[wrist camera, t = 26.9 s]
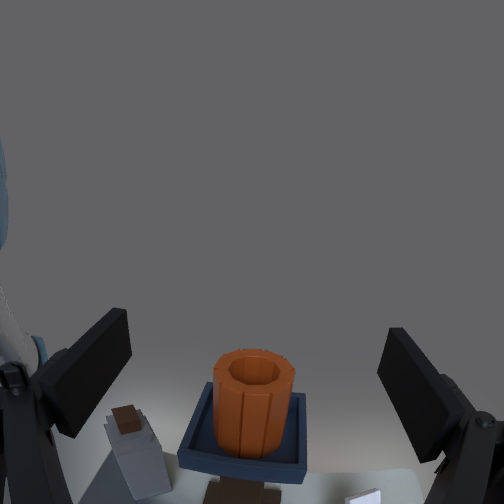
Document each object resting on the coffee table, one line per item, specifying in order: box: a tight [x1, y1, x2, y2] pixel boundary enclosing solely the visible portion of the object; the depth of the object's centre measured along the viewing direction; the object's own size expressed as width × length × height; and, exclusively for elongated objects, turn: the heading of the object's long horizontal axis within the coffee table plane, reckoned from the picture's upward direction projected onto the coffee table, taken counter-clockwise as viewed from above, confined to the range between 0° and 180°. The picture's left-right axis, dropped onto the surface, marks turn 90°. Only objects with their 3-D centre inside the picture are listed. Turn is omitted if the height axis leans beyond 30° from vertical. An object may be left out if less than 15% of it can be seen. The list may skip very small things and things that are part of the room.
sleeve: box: [213, 349, 295, 459], centre depth 26 cm, size 7×7×9 cm
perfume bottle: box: [104, 405, 172, 501], centre depth 35 cm, size 7×7×18 cm
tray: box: [177, 382, 307, 504], centre depth 30 cm, size 12×12×25 cm
